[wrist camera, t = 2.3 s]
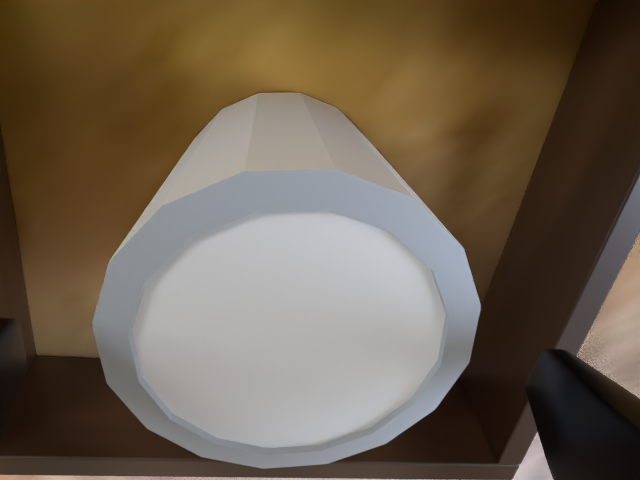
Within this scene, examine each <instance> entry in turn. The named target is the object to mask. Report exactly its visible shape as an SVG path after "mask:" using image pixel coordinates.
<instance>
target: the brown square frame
mask: <svg viewBox="0 0 640 480" xmlns="http://www.w3.org/2000/svg"><path fill="white" fill-rule="evenodd" d="M639 233H640V0H598V1H597V3H596V6H595V9H594V11H593V14H592V17H591V19H590V22H589V25H588V27H587V30H586V33H585V35H584V38H583V41H582V43H581V46H580V49H579V51H578V54H577V57H576V59H575V62H574V65H573V67H572V70H571V73H570V75H569V78H568V81H567V83H566V86H565V89H564V91H563V94H562V97H561V99H560V102H559V105H558V107H557V110H556V113H555V115H554V118H553V121H552V123H551V126H550V129H549V131H548V134H547V137H546V139H545V142H544V145H543V147H542V150H541V153H540V155H539V158H538V161H537V163H536V166H535V169H534V171H533V174H532V177H531V179H530V182H529V185H528V187H527V190H526V193H525V195H524V198H523V201H522V203H521V206H520V209H519V211H518V214H517V217H516V219H515V222H514V225H513V227H512V230H511V233H510V235H509V238H508V241H507V243H506V246H505V249H504V251H503V254H502V257H501V259H500V262H499V265H498V267H497V270H496V273H495V275H494V278H493V281H492V283H491V286H490V289H489V291H488V294H487V297H486V299H485V302H484V305H483V307H482V310H481V313H480V315H479V319H478V324H477V329H476V333H475V338H474V343H473V348H472V352H471V357H470V362H469V364H468V365H467V366H466V368H465V369H464V371H463V372H462V373H461V375H460V376H459V377H458V379H457V380H456V382H455V383H454V384H453V386H452V387H451V388H450V390H449V391H448V393H447V394H446V395H445V397H444V398H443V399H442V401H441V402H440V404H439V405H438V406H437V408H436V409H435V410H434V411H432V412H431V413H429V414H428V415H427V416H425V417H424V418H422V419H421V420H419V421H418V422H416V423H415V424H414V425H412V426H411V427H409V428H408V429H406V430H405V431H403V432H402V433H401V434H399V435H398V436H396V437H395V438H393V439H392V440H391V441H389V442H388V443H386V444H384V445H381V446H378V447H375V448H372V449H369V450H366V451H363V452H360V453H358V454H355V455H352V456H349V457H346V458H343V459H340V460H337V461H334V462H331V463H328V464H320V465H307V466H293V467H280V468H266V469H262V468H257V467H252V466H247V465H241V464H236V463H231V462H225V461H220V460H215V459H209V458H204V457H200V456H199V455H197V454H195V453H193V452H191V451H189V450H187V449H185V448H183V447H181V446H179V445H177V444H176V443H174V442H172V441H170V440H168V439H166V438H164V437H162V436H160V435H158V434H156V433H154V432H152V431H151V430H149V429H147V428H146V427H145V426H144V425H143V424H142V423H141V421H140V420H139V419H138V418H137V417H136V416H135V415H134V414H133V412H132V411H131V410H130V409H129V408H128V407H127V406H126V405H125V403H124V402H123V401H122V400H121V399H120V398H119V397H118V396H117V394H116V393H115V392H114V391H113V390H112V389H111V388H110V387H109V385H108V384H107V382H106V378H105V375H104V371H103V367H102V363H101V360H100V359H94V358H71V357H48V356H36V351H35V345H34V339H33V332H32V326H31V320H30V313H29V307H28V301H27V294H26V288H25V282H24V275H23V269H22V263H21V256H20V250H19V244H18V237H17V231H16V225H15V218H14V212H13V206H12V199H11V193H10V187H9V180H8V174H7V168H6V161H5V155H4V148H3V142H2V136H1V129H0V317H3V318H15V319H17V320H18V321H19V323H20V325H21V329H22V335H23V341H24V347H25V353H26V368H25V372H24V375H23V378H22V380H21V383H20V386H19V389H18V391H17V394H16V397H15V400H14V403H13V405H12V408H11V411H10V414H9V416H8V419H7V422H6V425H5V428H4V430H3V433H2V436H1V439H0V475H74V476H169V477H265V478H360V479H456V480H512V479H513V477H514V475H515V473H516V471H517V469H518V467H519V464H521V462H522V460H523V458H524V456H525V455H526V453H527V451H528V449H529V447H530V445H531V443H532V441H533V439H534V437H535V435H536V433H537V431H538V430H537V427H536V424H535V421H534V417H533V414H532V411H531V407H530V404H529V401H528V398H527V394H526V381H527V378H528V376H529V374H530V372H531V370H532V367H533V365H534V363H535V361H536V359H537V357H538V355H539V353H540V352H541V351H542V350H543V349H547V348H549V349H564V350H567V351H569V352H570V353H572V354H573V355H575V356H576V355H577V353H578V352H579V350H580V348H581V346H582V344H583V342H584V340H585V338H586V336H587V334H588V332H589V330H590V328H591V326H592V324H593V322H594V320H595V319H596V317H597V315H598V313H599V311H600V309H601V307H602V305H603V303H604V301H605V299H606V297H607V295H608V293H609V291H610V289H611V287H612V286H613V284H614V282H615V280H616V278H617V276H618V274H619V272H620V270H621V268H622V266H623V264H624V262H625V260H626V258H627V256H628V254H629V252H630V251H631V249H632V247H633V245H634V243H635V241H636V239H637V237H638V235H639Z"/></svg>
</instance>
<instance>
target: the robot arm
mask: <svg viewBox="0 0 640 480" xmlns="http://www.w3.org/2000/svg"><path fill="white" fill-rule="evenodd" d="M25 368H26V353H25V347H24V341H23V335H22V329H21V325H20V323H19V321H18V320H17V319H15V318H3V317H0V439H1V436H2V433H3V430H4V428H5V425H6V422H7V419H8V416H9V414H10V411H11V408H12V405H13V403H14V400H15V397H16V394H17V391H18V389H19V386H20V383H21V380H22V378H23V375H24V372H25ZM526 394H527V398H528V401H529V404H530V407H531V411H532V414H533V417H534V421H535V424H536V427H537V430H538V434H539V437H540V440H541V444H542V447H543V450H544V453H545V457H546V460H547V463H548V466H549V469H550V471H551V474H552V477H553V479H554V480H640V399H639V398H638V397H636V396H635V395H633V394H632V393H630V392H629V391H627V390H626V389H624V388H623V387H621V386H620V385H618V384H617V383H615V382H614V381H612V380H611V379H609V378H608V377H606V376H605V375H603V374H602V373H600V372H599V371H597V370H596V369H594V368H593V367H591V366H590V365H588V364H587V363H585V362H584V361H582V360H581V359H579V358H578V357H576V356H575V355H573V354H572V353H570V352H569V351H567V350H564V349H549V348H547V349H543V350H542V351H541V352H540V353H539V355H538V357H537V359H536V361H535V363H534V365H533V367H532V370H531V372H530V374H529V376H528V378H527V381H526Z"/></svg>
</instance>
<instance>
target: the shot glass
mask: <svg viewBox="0 0 640 480" xmlns="http://www.w3.org/2000/svg"><path fill="white" fill-rule="evenodd" d="M480 310H481V304H480V301H479V297H478V294H477V291H476V287H475V284H474V281H473V277H472V274H471V271H470V267H469V264H468V260H467V257H466V254H465V250H464V248H463V247H462V245H461V244H460V243H459V242H458V241H457V240H456V239H455V238H454V236H453V235H452V234H451V233H450V232H449V231H448V230H447V229H446V227H445V226H444V225H443V224H442V223H441V222H440V221H439V219H438V218H437V217H436V216H435V215H434V214H433V213H432V212H431V210H430V209H429V208H428V207H427V206H426V205H425V204H424V202H423V201H422V200H421V199H420V198H419V197H418V196H417V195H416V193H415V192H414V191H413V190H412V189H411V188H410V187H409V186H408V184H407V183H406V182H405V181H404V180H403V179H402V178H401V176H400V175H399V174H398V173H397V172H396V171H395V170H394V169H393V167H392V166H391V165H390V164H389V163H388V162H387V161H386V159H385V158H384V157H383V156H382V155H381V154H380V153H379V152H378V150H377V149H376V148H375V147H374V146H373V145H372V144H371V143H370V141H369V140H368V139H367V138H366V137H365V136H364V135H363V134H362V133H361V132H360V131H359V129H358V128H357V127H356V126H355V125H354V124H353V123H352V122H351V121H350V120H349V119H348V118H347V117H346V116H345V115H344V114H343V113H342V112H341V111H340V110H339V109H338V108H337V107H334V106H332V105H329V104H327V103H324V102H322V101H320V100H317V99H315V98H312V97H310V96H307V95H305V94H302V93H300V92H299V93H257V94H255V95H253V96H250V97H248V98H246V99H244V100H241V101H239V102H237V103H234V104H232V105H230V106H227V107H225V108H223V109H221V110H220V111H219V112H218V113H217V114H216V115H215V117H214V118H213V119H212V120H211V121H210V122H209V123H208V124H207V125H206V126H205V127H204V128H203V130H202V131H201V132H200V133H199V134H198V135H197V136H196V137H195V138H194V140H193V141H192V143H191V144H190V146H189V147H188V148H187V150H186V151H185V153H184V154H183V156H182V157H181V159H180V160H179V161H178V163H177V164H176V166H175V167H174V169H173V170H172V171H171V173H170V174H169V176H168V177H167V179H166V180H165V182H164V183H163V184H162V186H161V187H160V189H159V190H158V192H157V193H156V195H155V196H154V197H153V199H152V200H151V202H150V203H149V205H148V206H147V207H146V209H145V210H144V212H143V213H142V215H141V216H140V218H139V219H138V220H137V222H136V223H135V225H134V226H133V228H132V229H131V230H130V232H129V233H128V235H127V236H126V238H125V239H124V241H123V242H122V243H121V245H120V246H119V248H118V249H117V251H116V252H115V254H114V255H113V256H112V258H111V259H110V261H109V263H108V266H107V270H106V274H105V277H104V281H103V285H102V288H101V292H100V296H99V299H98V303H97V307H96V310H95V314H94V318H93V321H92V325H91V326H92V330H93V333H94V337H95V341H96V345H97V348H98V352H99V356H100V360H101V363H102V367H103V371H104V375H105V378H106V382H107V384H108V385H109V387H110V388H111V389H112V390H113V391H114V392H115V393H116V394H117V396H118V397H119V398H120V399H121V400H122V401H123V402H124V403H125V405H126V406H127V407H128V408H129V409H130V410H131V411H132V412H133V414H134V415H135V416H136V417H137V418H138V419H139V420H140V421H141V423H142V424H143V425H144V426H145V427H146V428H147V429H149V430H151V431H152V432H154V433H156V434H158V435H160V436H162V437H164V438H166V439H168V440H170V441H172V442H174V443H176V444H177V445H179V446H181V447H183V448H185V449H187V450H189V451H191V452H193V453H195V454H197V455H199V456H200V457H204V458H209V459H215V460H220V461H225V462H231V463H236V464H241V465H247V466H252V467H257V468H262V469H266V468H280V467H293V466H307V465H320V464H328V463H331V462H334V461H337V460H340V459H343V458H346V457H349V456H352V455H355V454H358V453H360V452H363V451H366V450H369V449H372V448H375V447H378V446H381V445H384V444H386V443H388V442H389V441H391V440H392V439H393V438H395V437H396V436H398V435H399V434H401V433H402V432H403V431H405V430H406V429H408V428H409V427H411V426H412V425H414V424H415V423H416V422H418V421H419V420H421V419H422V418H424V417H425V416H427V415H428V414H429V413H431V412H432V411H434V410H435V409H436V408H437V406H438V405H439V404H440V402H441V401H442V399H443V398H444V397H445V395H446V394H447V393H448V391H449V390H450V388H451V387H452V386H453V384H454V383H455V382H456V380H457V379H458V377H459V376H460V375H461V373H462V372H463V371H464V369H465V368H466V366H467V365H468V364H469V362H470V357H471V352H472V348H473V343H474V338H475V333H476V329H477V324H478V319H479V314H480Z"/></svg>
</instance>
